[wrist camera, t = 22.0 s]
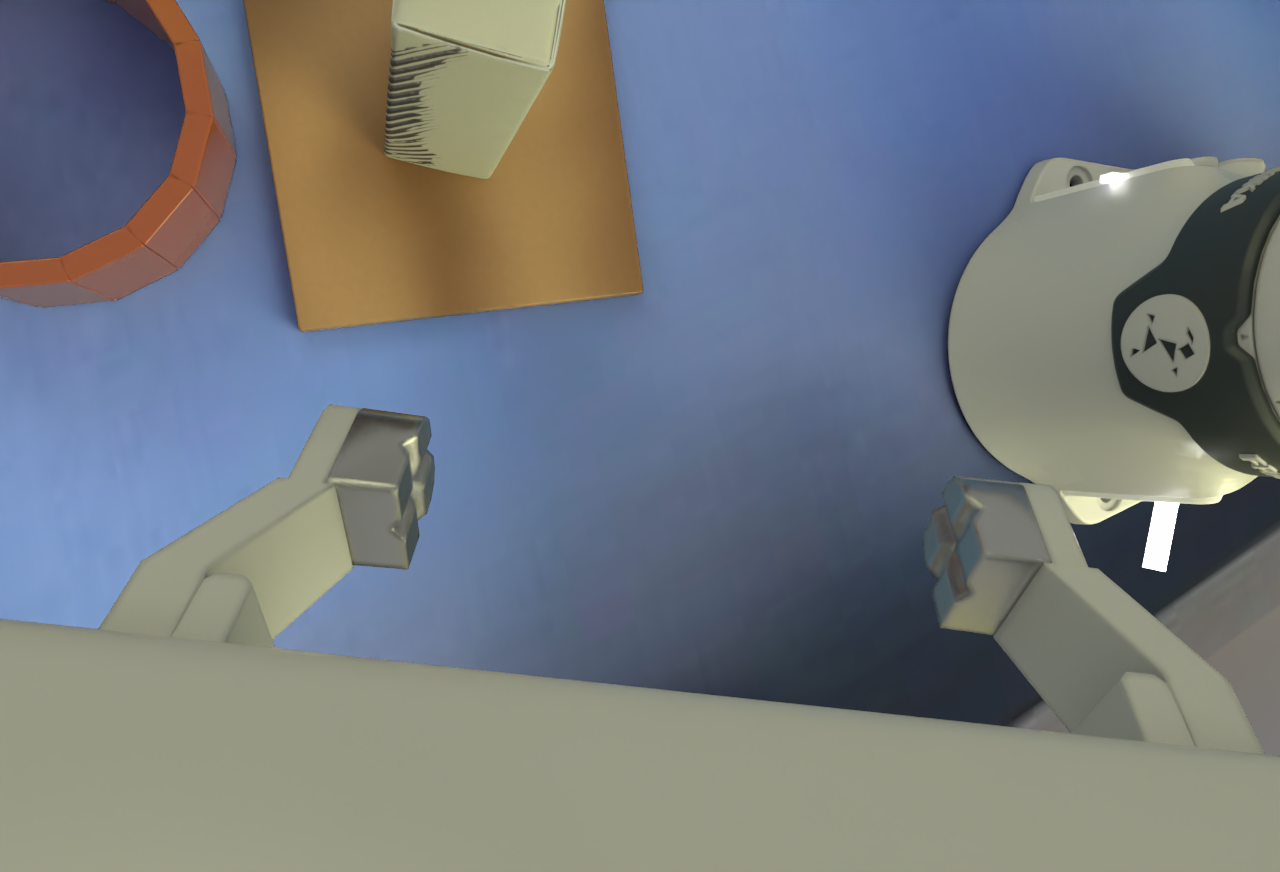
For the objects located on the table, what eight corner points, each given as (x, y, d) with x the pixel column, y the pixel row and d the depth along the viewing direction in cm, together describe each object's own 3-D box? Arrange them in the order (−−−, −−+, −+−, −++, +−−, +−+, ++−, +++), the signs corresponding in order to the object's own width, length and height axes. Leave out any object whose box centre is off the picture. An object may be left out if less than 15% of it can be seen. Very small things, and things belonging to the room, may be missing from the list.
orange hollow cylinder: (203, -40, 32) (172, -118, 27) (259, 287, 33) (239, 266, 28) (-199, -43, 28) (-316, -134, 23) (-123, 323, 29) (-221, 307, 24)
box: (400, 32, 33) (414, -188, 21) (512, 62, 34) (587, -128, 22) (380, 165, 33) (384, 24, 21) (493, 191, 34) (558, 72, 22)
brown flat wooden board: (587, -83, 36) (591, -94, 35) (638, 294, 37) (644, 292, 36) (228, -92, 32) (225, -104, 31) (300, 332, 33) (298, 330, 32)
